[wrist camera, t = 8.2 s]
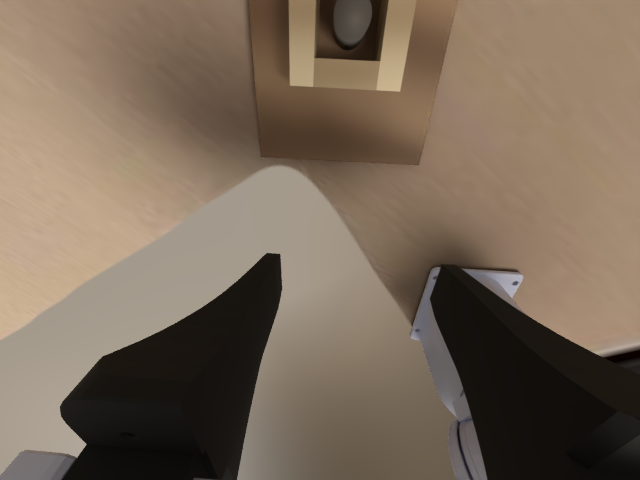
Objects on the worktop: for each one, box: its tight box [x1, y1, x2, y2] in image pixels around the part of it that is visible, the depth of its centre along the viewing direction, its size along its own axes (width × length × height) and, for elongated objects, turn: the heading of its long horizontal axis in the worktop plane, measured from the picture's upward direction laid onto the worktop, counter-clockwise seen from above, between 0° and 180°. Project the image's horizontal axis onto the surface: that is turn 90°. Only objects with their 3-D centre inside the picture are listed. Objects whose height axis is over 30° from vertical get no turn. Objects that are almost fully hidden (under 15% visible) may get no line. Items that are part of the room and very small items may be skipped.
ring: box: [289, 0, 417, 92], centre depth 13 cm, size 6×6×3 cm
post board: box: [248, 0, 458, 165], centre depth 13 cm, size 14×11×5 cm
